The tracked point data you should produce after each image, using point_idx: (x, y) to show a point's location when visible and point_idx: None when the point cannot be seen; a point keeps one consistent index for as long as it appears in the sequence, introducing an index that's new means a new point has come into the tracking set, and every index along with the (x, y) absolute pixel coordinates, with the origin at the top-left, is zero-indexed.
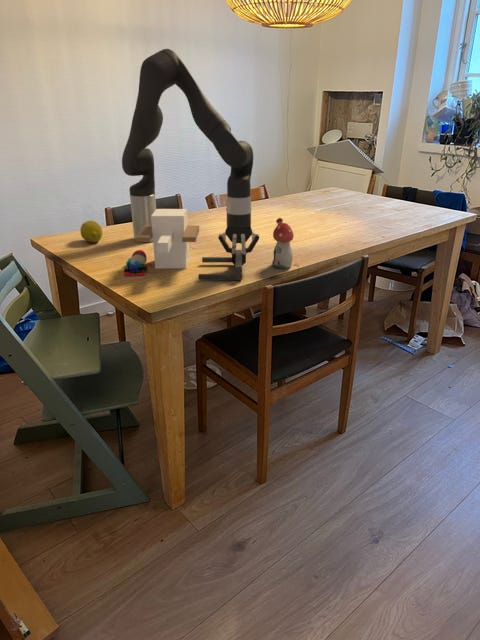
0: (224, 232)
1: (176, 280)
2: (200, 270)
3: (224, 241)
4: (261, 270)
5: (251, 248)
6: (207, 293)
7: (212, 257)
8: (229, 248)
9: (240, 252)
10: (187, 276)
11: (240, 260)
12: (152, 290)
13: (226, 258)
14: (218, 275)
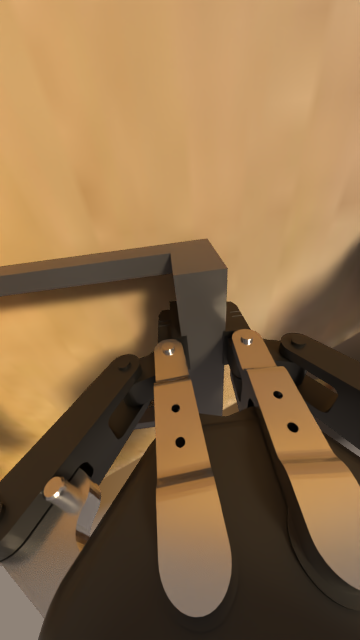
0: (38, 610)
1: (15, 420)
2: (31, 345)
3: (99, 483)
4: (291, 312)
5: (306, 394)
6: (138, 451)
7: (13, 282)
8: (144, 400)
9: (216, 327)
10: (25, 395)
11: (216, 413)
12: (6, 460)
13: (113, 280)
14: (141, 427)
